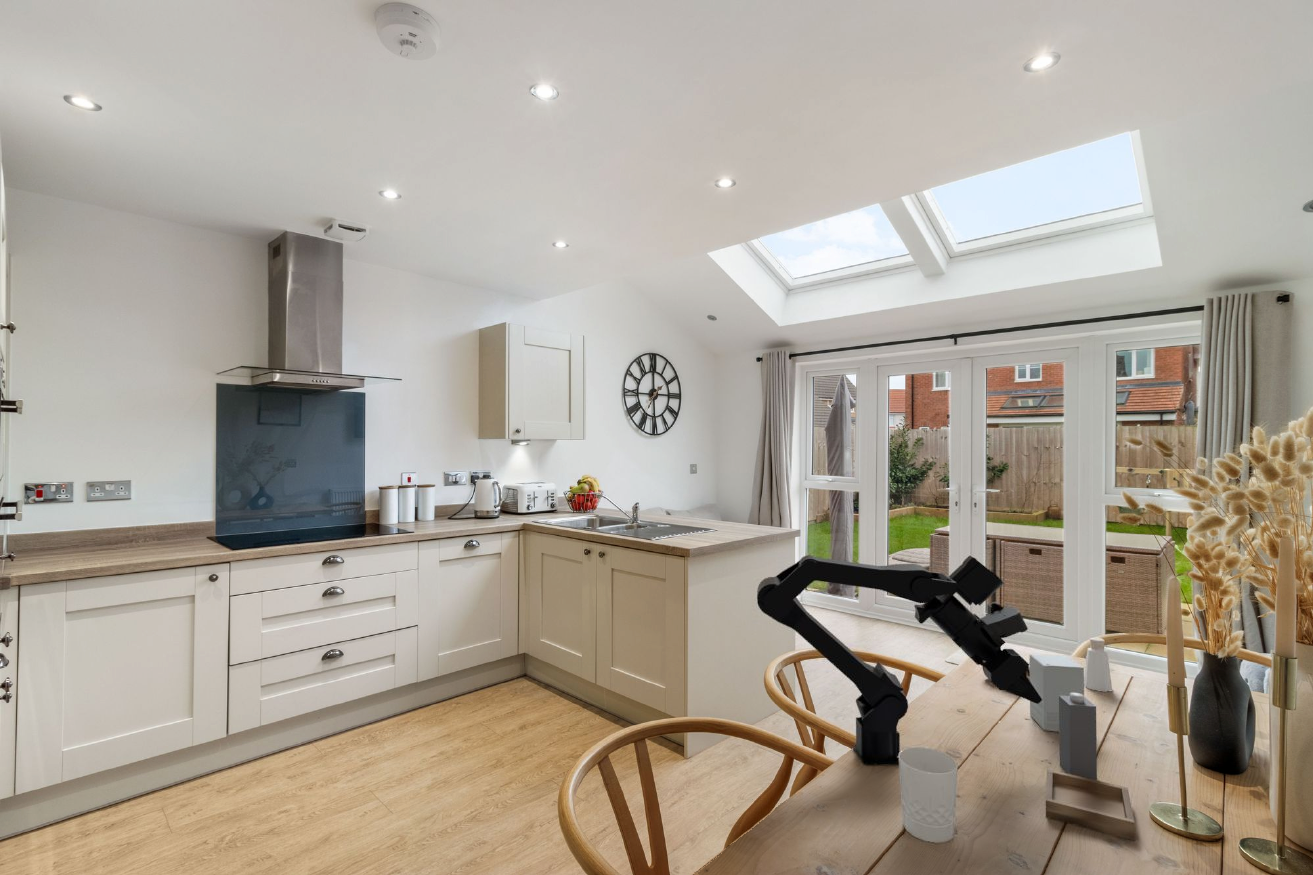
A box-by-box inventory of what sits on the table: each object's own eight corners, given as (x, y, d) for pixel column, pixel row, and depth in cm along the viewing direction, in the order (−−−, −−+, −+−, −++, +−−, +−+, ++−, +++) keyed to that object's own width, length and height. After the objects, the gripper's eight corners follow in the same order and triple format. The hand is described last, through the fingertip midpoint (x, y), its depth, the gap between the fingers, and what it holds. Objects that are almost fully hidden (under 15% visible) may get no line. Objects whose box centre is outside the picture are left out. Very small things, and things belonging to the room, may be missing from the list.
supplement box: (1086, 734, 121) (1085, 667, 121) (1043, 730, 122) (1042, 665, 122) (1069, 717, 128) (1068, 654, 128) (1028, 714, 129) (1028, 652, 129)
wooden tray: (1045, 816, 94) (1045, 800, 94) (1047, 784, 103) (1046, 768, 103) (1134, 840, 89) (1134, 822, 89) (1127, 803, 98) (1127, 787, 98)
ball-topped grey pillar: (1070, 777, 105) (1069, 698, 105) (1059, 765, 109) (1058, 689, 109) (1096, 779, 105) (1096, 700, 105) (1085, 767, 109) (1084, 691, 109)
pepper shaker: (1118, 692, 140) (1117, 642, 141) (1093, 692, 141) (1093, 642, 141) (1101, 682, 146) (1101, 635, 146) (1077, 683, 146) (1077, 635, 146)
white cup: (954, 853, 86) (953, 779, 86) (893, 834, 90) (893, 764, 90) (961, 823, 93) (960, 755, 93) (904, 807, 97) (904, 741, 97)
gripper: (1014, 605, 100) (1092, 679, 98) (976, 580, 119) (1041, 642, 117) (961, 652, 102) (1037, 726, 100) (932, 620, 120) (996, 682, 118)
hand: (1028, 690), depth 108 cm, fingers open, 9 cm apart
